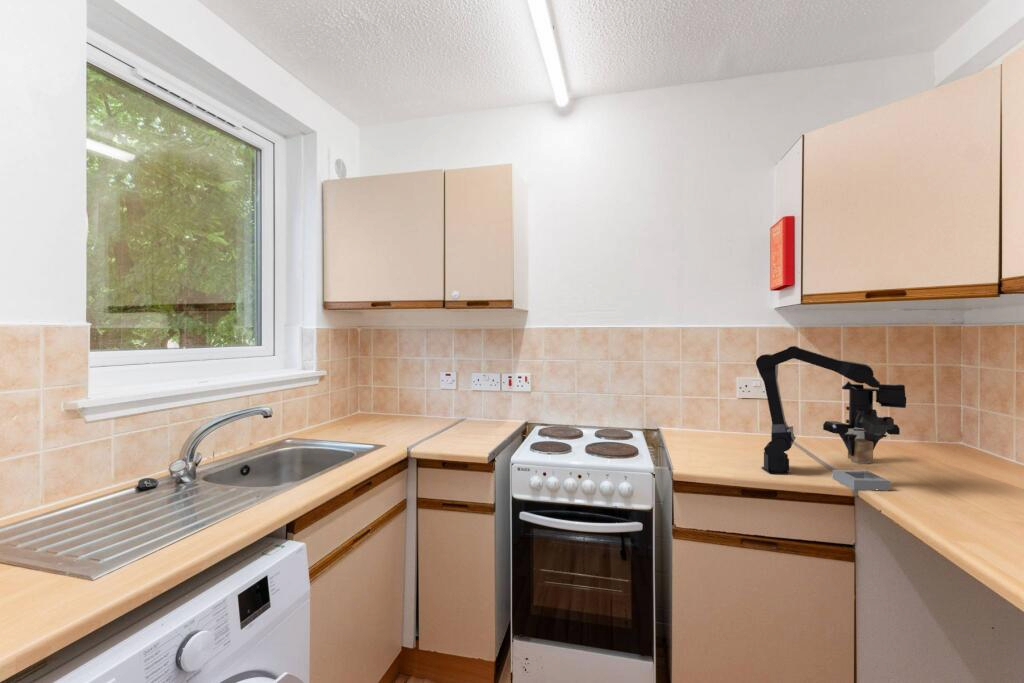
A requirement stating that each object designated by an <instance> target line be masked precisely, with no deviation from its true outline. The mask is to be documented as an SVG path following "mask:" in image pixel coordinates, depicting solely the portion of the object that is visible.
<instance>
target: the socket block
mask: <svg viewBox="0 0 1024 683" xmlns="http://www.w3.org/2000/svg"><path fill="white" fill-rule="evenodd" d="M833 479H834V480H833ZM832 480H833V481H835V480H836V482H837V481H838V482H837V483H839V484H841V485H843V486H845V487H847V488H849V489H851V490H852V491H863V492H864V491H866V492H867V490H876V489H878V490H890V491H891V480H889V479H886V478H884V477H881V476H880V475H877V474H875V473H873V472H870V471H869V470H865V469H864V470H860V469H857V470H856V469H855V470H854V469H853V470H852V469H832Z"/></svg>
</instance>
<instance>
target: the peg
mask: <svg viewBox="0 0 1024 683" xmlns="http://www.w3.org/2000/svg"><path fill="white" fill-rule="evenodd" d="M847 458H848V459H850V460H851V459H852V460H854V461H857V462H870V463H874V450H873V442H871V441H868V440H865V439H854V456H851V455H850V453H849V451H848V450H847ZM857 462H856V463H857Z"/></svg>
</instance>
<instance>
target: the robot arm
mask: <svg viewBox="0 0 1024 683" xmlns="http://www.w3.org/2000/svg"><path fill="white" fill-rule="evenodd" d="M793 359H794V360H798V361H800V362H805V363H807V364H810V365H814V366H817V367H820V368H823V369H827V370H829V371H832V372H835V373H837V374H839V375H841V376H843V377H845V378H846V379H849V380H850V381H848V380H847V381H846V383H845V384H844V385H842V386H841V389H842V390H846V391H847V390H848V392H849V393H848V401H849V402H848V406H845V407H846V410H847V411H848V419H846V420H845V423H844V422H841V421H837V420H835V421H834V420H833V421H831V420H826V421H825V422H824V423H823V424H822V426H823V427H822V430H824V431H826V432H829V433H832V434H838V435H839V436H840V438H841V440H842V441H843V443H844V445H845V447H846V450H847V452H848V451H849V453H850V455H851V456H854V439H855V438H856V436H857V435H855V434H854V431H864V438H865V440H868V441H871V442H873V451H874V450H875V448H876V446H877V444H878V442H879V441H880V440H882V439H883V438H886V437H888V435H893V436H894V435H895V436H896V435H898V436H899V435H900V434H901V433H900V432H901V429H900V427H899V426H898V425H897V424H896V423H895V419H894V418H892V416H883V417H879V416H878V412H877V410H876V409H874V392H875V404H876V403H877V404H879V405H880V407H887V408H899V409H900V408H901V409H906V407H907V396H906V386H905V384H903V383H902V384H900V383H899V384H888V383H886V384H884V383H880V380H877V379H876V377H875V376H874V371H873V369H872V367H871V366H870V365H868V364H867V363H861V362H856V361H848V360H841V359H837V358H834V357H830V356H827V355H824V354H820V353H817V352H814V351H811V350H807V349H803V348H800V347H799V346H797V345H791V346H788V348H786V349H783V350H780V351H777V352H775V353H773V354H771V353H766V354H765V353H764V354H762V355H760V356H758V357H757V359H756V360H755V366H756V369H757V371H758V373H759V376H760V377H761V379H762V381H763V383H764V389H765V393H766V399H767V403H768V409H769V413H770V419H771V435H770V436H771V440H770V441H769V442H768V443H766V445H765V447H764V448H763V466H761V469H762V470H764V471H765V472H767V473H769V474H770V475H771V474H772V475H791V472H790V459H789V457H788V456H789V454H788V453H786V452H787V451H789V450H790V449H791V448H792V446H793V444H794V442H795V440H796V437H797V436H795V433H794V426H792V425H791V426H789V425H788V423H787V421H786V416H785V413H784V412H785V411H784V408H783V401H782V397H781V396H782V395H781V393H780V387H779V382H778V376H779V375H778V374H779V365H780V364H783V363H784V362H785V363H786V362H788V361H789V360H793ZM851 381H853V382H854V383H855V384H854V383H851ZM864 384H866V385H867V386H869V387H864ZM854 427H856V428H854ZM887 434H888V435H887Z"/></svg>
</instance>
